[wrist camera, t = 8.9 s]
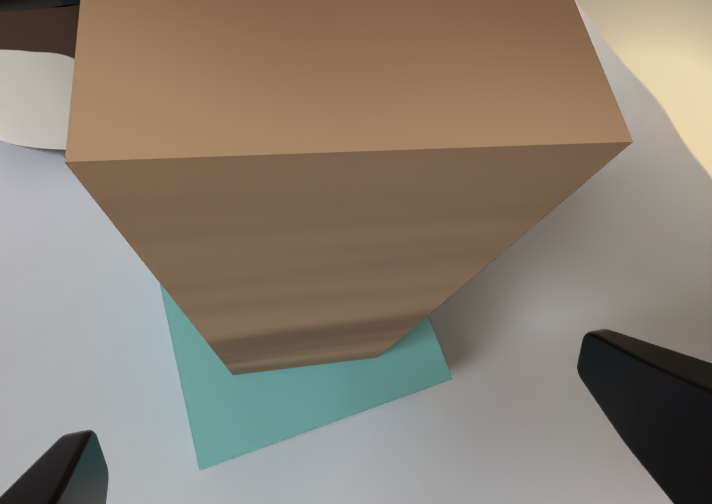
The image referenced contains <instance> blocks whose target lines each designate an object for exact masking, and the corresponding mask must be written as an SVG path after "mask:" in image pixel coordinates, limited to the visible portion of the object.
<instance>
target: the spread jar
mask: <svg viewBox="0 0 712 504" xmlns="http://www.w3.org/2000/svg"><path fill="white" fill-rule="evenodd" d="M79 9H80V0H0V140H1V141H4V142H7V143H10V144H13V145H16V146H19V147H23V148H27V149H31V150H36V151H43V152H49V153H55V154H63V155H65V153H66V142H67V132H68V122H69V112H70V101H71V91H72V81H73V71H74V61H75V50H76V40H77V30H78V20H79Z"/></svg>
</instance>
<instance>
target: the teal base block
mask: <svg viewBox="0 0 712 504" xmlns="http://www.w3.org/2000/svg"><path fill="white" fill-rule="evenodd" d="M160 287H161V292H162V296H163V301H164V306H165V310H166V315H167V320H168V325H169V329H170V334H171V339H172V343H173V348H174V353H175V357H176V362H177V367H178V371H179V376H180V381H181V386H182V390H183V395H184V400H185V404H186V409H187V414H188V418H189V423H190V428H191V432H192V437H193V442H194V447H195V451H196V456H197V461H198V465H199V470H202V469H205V468H208V467H211V466H213V465H216V464H219V463H222V462H224V461H227V460H230V459H233V458H235V457H238V456H241V455H244V454H246V453H249V452H252V451H255V450H257V449H260V448H263V447H266V446H268V445H271V444H274V443H277V442H279V441H282V440H285V439H288V438H290V437H293V436H296V435H299V434H301V433H304V432H307V431H310V430H312V429H315V428H318V427H321V426H323V425H326V424H329V423H332V422H334V421H337V420H340V419H343V418H345V417H348V416H351V415H354V414H356V413H359V412H362V411H365V410H367V409H370V408H373V407H376V406H378V405H381V404H384V403H387V402H389V401H392V400H395V399H398V398H400V397H403V396H406V395H409V394H411V393H414V392H417V391H420V390H422V389H425V388H428V387H431V386H433V385H436V384H439V383H442V382H444V381H447V380H450V379H452V376H451V373H450V371H449V368H448V366H447V363H446V361H445V358H444V355H443V353H442V350H441V348H440V345H439V343H438V340H437V337H436V335H435V332H434V330H433V327H432V325H431V322H430V319H429V317H428V316H426V317H425V318H424V319H423V320H422V321H420V322H419V323H418V324H417V325H416V326H415V327H413V328H412V329H411V330H410V331H409V332H407V333H406V334H405V335H404V336H403V337H402V338H400V339H399V340H398V341H397V342H396V343H394V344H393V345H392V346H391V347H390V348H389V349H387V350H386V351H385V352H384V353H383V354H381V355H380V356H379V357H378V358H371V359H363V360H354V361H346V362H338V363H330V364H322V365H313V366H305V367H297V368H289V369H281V370H272V371H264V372H256V373H248V374H240V375H232V374H231V372H230V371H229V370H228V369H227V367H226V366H225V365H224V364H223V362H222V361H221V360H220V358H219V357H218V356H217V355H216V353H215V352H214V351H213V350H212V348H211V347H210V346H209V345H208V343H207V342H206V341H205V339H204V338H203V337H202V336H201V334H200V333H199V332H198V331H197V329H196V328H195V327H194V325H193V324H192V323H191V322H190V320H189V319H188V318H187V317H186V315H185V314H184V313H183V312H182V310H181V309H180V308H179V306H178V305H177V304H176V303H175V301H174V300H173V299H172V298H171V296H170V295H169V294H168V292H167V291H166V290H165V289H164V287H163V286H162V285H161V284H160Z"/></svg>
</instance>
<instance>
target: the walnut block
mask: <svg viewBox="0 0 712 504" xmlns="http://www.w3.org/2000/svg"><path fill="white" fill-rule="evenodd" d="M632 142H633V140H632V138H631V136H630V133H629V131H628V128H627V126H626V123H625V121H624V119H623V116H622V114H621V111H620V109H619V107H618V104H617V102H616V99H615V97H614V95H613V92H612V90H611V87H610V85H609V83H608V80H607V78H606V75H605V73H604V71H603V68H602V66H601V63H600V61H599V59H598V56H597V54H596V51H595V49H594V46H593V44H592V42H591V39H590V37H589V34H588V32H587V30H586V27H585V25H584V22H583V20H582V18H581V15H580V13H579V10H578V8H577V6H576V3H575V1H574V0H80V9H79V20H78V30H77V40H76V50H75V61H74V71H73V81H72V91H71V101H70V112H69V122H68V132H67V142H66V153H65V163H66V164H67V166H68V167H69V168H70V169H71V171H72V172H73V173H74V174H75V176H76V177H77V178H78V180H79V181H80V182H81V183H82V185H83V186H84V187H85V188H86V190H87V191H88V192H89V194H90V195H91V196H92V197H93V199H94V200H95V201H96V202H97V204H98V205H99V206H100V207H101V209H102V210H103V211H104V213H105V214H106V215H107V216H108V218H109V219H110V220H111V221H112V223H113V224H114V225H115V227H116V228H117V229H118V230H119V232H120V233H121V234H122V235H123V237H124V238H125V239H126V240H127V242H128V243H129V244H130V246H131V247H132V248H133V249H134V251H135V252H136V253H137V254H138V256H139V257H140V258H141V259H142V261H143V262H144V263H145V265H146V266H147V267H148V268H149V270H150V271H151V272H152V273H153V275H154V276H155V277H156V279H157V280H158V281H159V282H160V284H161V285H162V286H163V287H164V289H165V290H166V291H167V292H168V294H169V295H170V296H171V298H172V299H173V300H174V301H175V303H176V304H177V305H178V306H179V308H180V309H181V310H182V312H183V313H184V314H185V315H186V317H187V318H188V319H189V320H190V322H191V323H192V324H193V325H194V327H195V328H196V329H197V331H198V332H199V333H200V334H201V336H202V337H203V338H204V339H205V341H206V342H207V343H208V345H209V346H210V347H211V348H212V350H213V351H214V352H215V353H216V355H217V356H218V357H219V358H220V360H221V361H222V362H223V364H224V365H225V366H226V367H227V369H228V370H229V371H230V372H231V374H232V375H240V374H248V373H256V372H264V371H272V370H281V369H289V368H297V367H305V366H313V365H322V364H330V363H338V362H346V361H354V360H363V359H371V358H378V357H379V356H380V355H381V354H383V353H384V352H385V351H386V350H387V349H389V348H390V347H391V346H392V345H393V344H394V343H396V342H397V341H398V340H399V339H400V338H402V337H403V336H404V335H405V334H406V333H407V332H409V331H410V330H411V329H412V328H413V327H415V326H416V325H417V324H418V323H419V322H420V321H422V320H423V319H424V318H425V317H426V316H428V315H429V314H430V313H431V312H432V311H433V310H435V309H436V308H437V307H438V306H439V305H441V304H442V303H443V302H444V301H445V300H446V299H448V298H449V297H450V296H451V295H452V294H454V293H455V292H456V291H457V290H458V289H460V288H461V287H462V286H463V285H464V284H465V283H467V282H468V281H469V280H470V279H471V278H473V277H474V276H475V275H476V274H477V273H478V272H480V271H481V270H482V269H483V268H484V267H486V266H487V265H488V264H489V263H490V262H491V261H493V260H494V259H495V258H496V257H497V256H499V255H500V254H501V253H502V252H503V251H504V250H506V249H507V248H508V247H509V246H510V245H512V244H513V243H514V242H515V241H516V240H517V239H519V238H520V237H521V236H522V235H523V234H525V233H526V232H527V231H528V230H529V229H530V228H532V227H533V226H534V225H535V224H536V223H538V222H539V221H540V220H541V219H542V218H543V217H545V216H546V215H547V214H548V213H549V212H551V211H552V210H553V209H554V208H555V207H556V206H558V205H559V204H560V203H561V202H562V201H564V200H565V199H566V198H567V197H568V196H569V195H571V194H572V193H573V192H574V191H575V190H577V189H578V188H579V187H580V186H581V185H582V184H584V183H585V182H586V181H587V180H588V179H590V178H591V177H592V176H593V175H594V174H595V173H597V172H598V171H599V170H600V169H601V168H603V167H604V166H605V165H606V164H607V163H608V162H610V161H611V160H612V159H613V158H614V157H616V156H617V155H618V154H619V153H620V152H621V151H623V150H624V149H625V148H626V147H627V146H629V145H630V144H631V143H632Z"/></svg>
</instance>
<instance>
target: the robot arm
mask: <svg viewBox="0 0 712 504" xmlns="http://www.w3.org/2000/svg"><path fill="white" fill-rule="evenodd" d="M577 370H578V373H579V376H580V378H581V379H582V381H583V382H584V384H585V385H586V387H587V388H588V390H589V391H590V393H591V394H592V396H593V397H594V399H595V400H596V402H597V403H598V405H599V406H600V408H601V409H602V410H603V412H604V413H605V415H606V416H607V418H608V419H609V421H610V422H611V424H612V425H613V427H614V428H615V430H616V431H617V433H618V434H619V435H620V437H621V438H622V440H623V441H624V442H625V444H626V445H627V446H628V448H629V449H630V450H631V452H632V453H633V454H634V455H635V457H636V458H637V459H638V460H639V462H640V463H641V464H642V465H643V466H644V468H645V469H646V470H647V471H648V473H649V474H650V475H651V476H652V478H653V479H654V480H655V481H656V483H657V484H658V485H659V486H660V487H661V489H662V490H663V491H664V492H665V494H666V495H667V496H668V497H669V499H670V500H671V501H672V502H673V503H674V504H712V363H709V362H706V361H703V360H700V359H697V358H694V357H691V356H688V355H685V354H682V353H678V352H675V351H672V350H669V349H666V348H663V347H660V346H657V345H654V344H651V343H648V342H645V341H642V340H639V339H636V338H633V337H630V336H626V335H623V334H620V333H617V332H614V331H611V330H608V329H601V330H596V331H591V332H588V333H586V334H585V336H584V337H583V341H582V345H581V350H580V354H579V359H578V364H577ZM107 489H108V468H107V464H106V462H105V459H104V456H103V453H102V450H101V447H100V444H99V441H98V438H97V435H96V434H95V433H94V431H91V430H86V431H81V432H75V433H70V434H67V435H64V436H62V437H61V438H60V439H58V440H57V441H56V442H55V443H54V444H53V445H52V446H51V447H50V448H49V449H48V450H47V451H46V452H45V453H44V454H43V455H42V456H41V457H40V458H39V459H38V460H37V461H36V462H35V463H34V464H33V465H32V466H31V467H30V468H29V469H28V470H27V471H26V472H25V473H24V474H23V475H22V476H21V477H20V478H19V479H18V480H17V481H16V482H15V483H14V484H13V485H12V486H11V487H10V488H9V489H8V490H7V491H6V492H5V493H4V494H3V495H2V496H1V497H0V504H106V498H107Z"/></svg>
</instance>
